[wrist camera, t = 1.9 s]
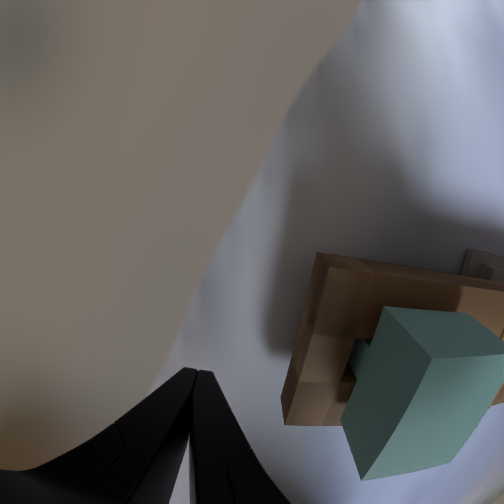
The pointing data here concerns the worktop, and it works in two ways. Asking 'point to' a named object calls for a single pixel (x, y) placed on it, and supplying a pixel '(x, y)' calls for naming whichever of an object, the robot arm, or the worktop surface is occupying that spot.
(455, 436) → the block
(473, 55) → the worktop surface
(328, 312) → the brown long slotted block
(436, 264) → the worktop surface
